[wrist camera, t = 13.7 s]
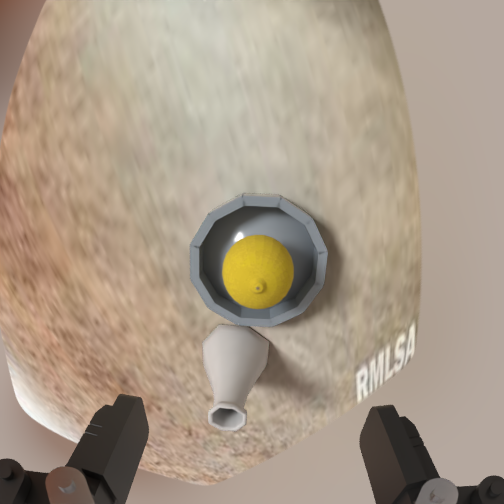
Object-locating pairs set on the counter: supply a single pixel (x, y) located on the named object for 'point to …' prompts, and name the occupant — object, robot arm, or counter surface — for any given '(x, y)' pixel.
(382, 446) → the robot arm
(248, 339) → the flask
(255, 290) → the lemon
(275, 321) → the dish
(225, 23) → the counter surface
